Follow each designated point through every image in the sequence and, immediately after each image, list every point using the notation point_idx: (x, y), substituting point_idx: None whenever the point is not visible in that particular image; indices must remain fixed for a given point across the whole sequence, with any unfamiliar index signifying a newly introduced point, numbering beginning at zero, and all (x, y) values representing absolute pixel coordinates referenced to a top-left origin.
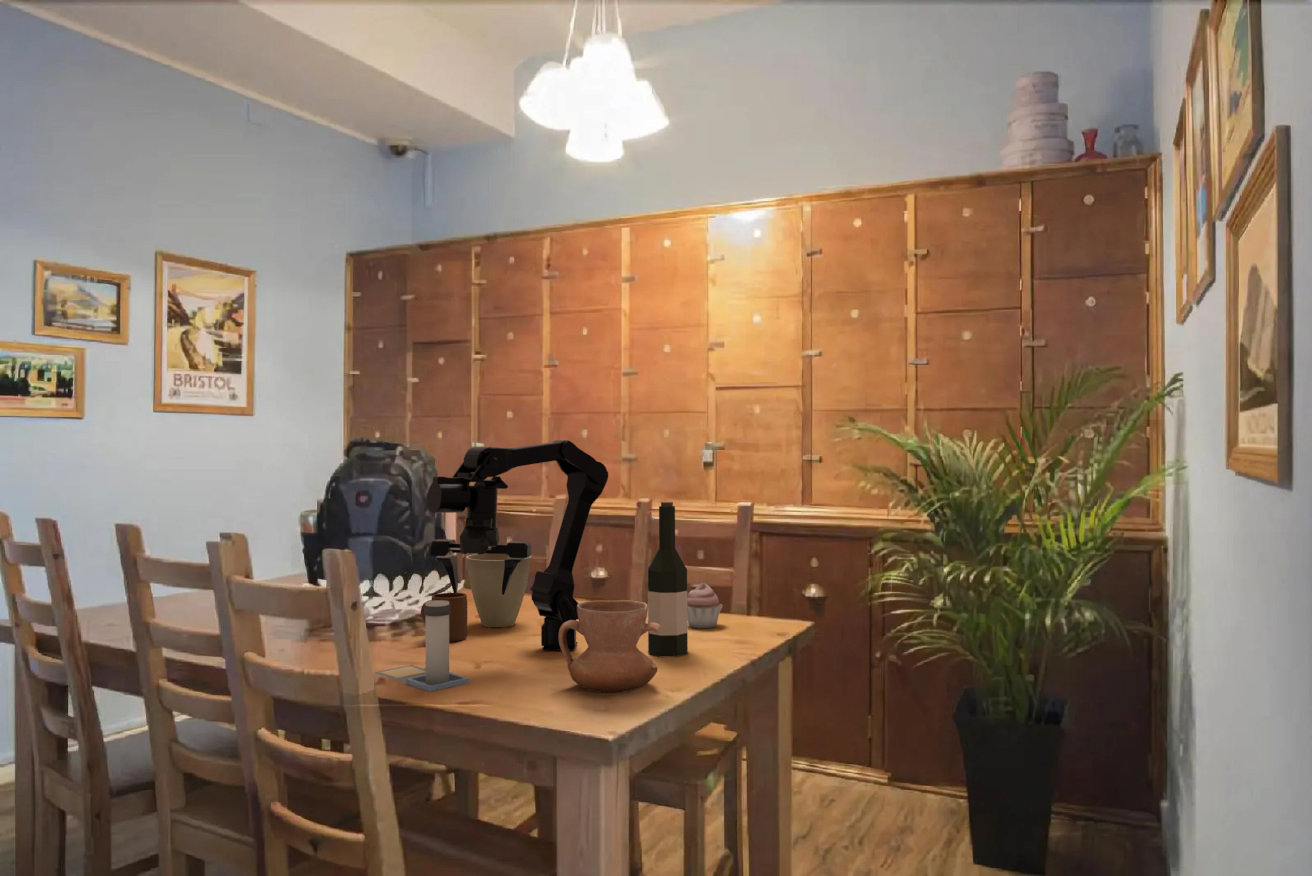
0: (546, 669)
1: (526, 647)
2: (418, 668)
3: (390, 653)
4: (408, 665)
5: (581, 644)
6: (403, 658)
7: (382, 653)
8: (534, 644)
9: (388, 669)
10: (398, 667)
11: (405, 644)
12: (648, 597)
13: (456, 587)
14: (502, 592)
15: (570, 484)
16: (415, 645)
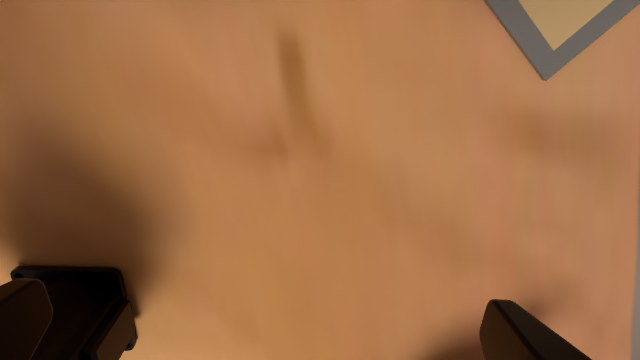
0: (8, 8)
1: (190, 315)
2: (518, 16)
3: (609, 262)
4: (557, 69)
5: None
6: (569, 199)
7: (635, 263)
8: (177, 346)
9: (638, 3)
10: (597, 37)
11: None
12: None
13: (510, 355)
14: (17, 288)
15: None
16: None
